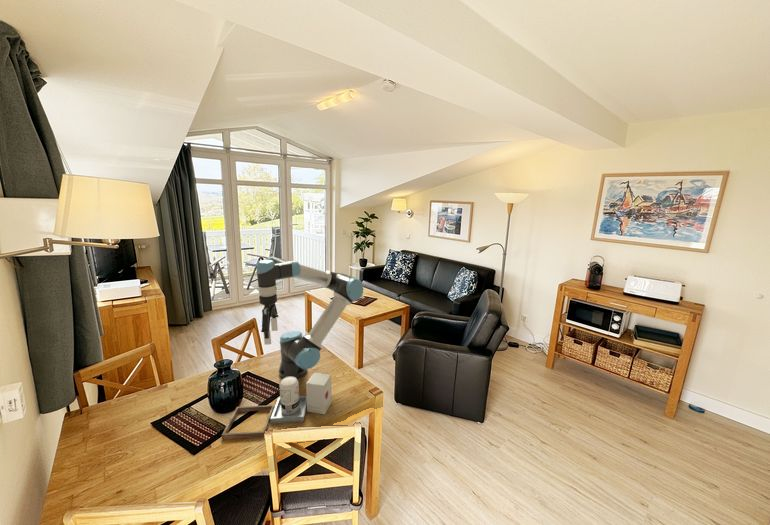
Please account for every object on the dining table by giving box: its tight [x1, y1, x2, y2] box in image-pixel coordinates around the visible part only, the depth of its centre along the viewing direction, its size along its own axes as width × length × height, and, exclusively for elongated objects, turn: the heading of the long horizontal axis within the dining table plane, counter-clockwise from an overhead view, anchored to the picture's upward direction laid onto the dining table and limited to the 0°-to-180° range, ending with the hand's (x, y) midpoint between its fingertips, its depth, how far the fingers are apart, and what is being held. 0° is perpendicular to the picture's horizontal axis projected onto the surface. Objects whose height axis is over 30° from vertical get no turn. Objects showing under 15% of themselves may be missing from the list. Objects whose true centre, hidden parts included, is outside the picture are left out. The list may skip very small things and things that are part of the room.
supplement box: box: [305, 372, 333, 415], centre depth 141 cm, size 9×9×15 cm
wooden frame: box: [221, 404, 275, 440], centre depth 132 cm, size 17×17×2 cm
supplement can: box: [279, 376, 300, 415], centre depth 138 cm, size 8×8×15 cm
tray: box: [270, 395, 307, 424], centre depth 139 cm, size 14×14×2 cm
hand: (271, 337), depth 143 cm, fingers open, 13 cm apart
